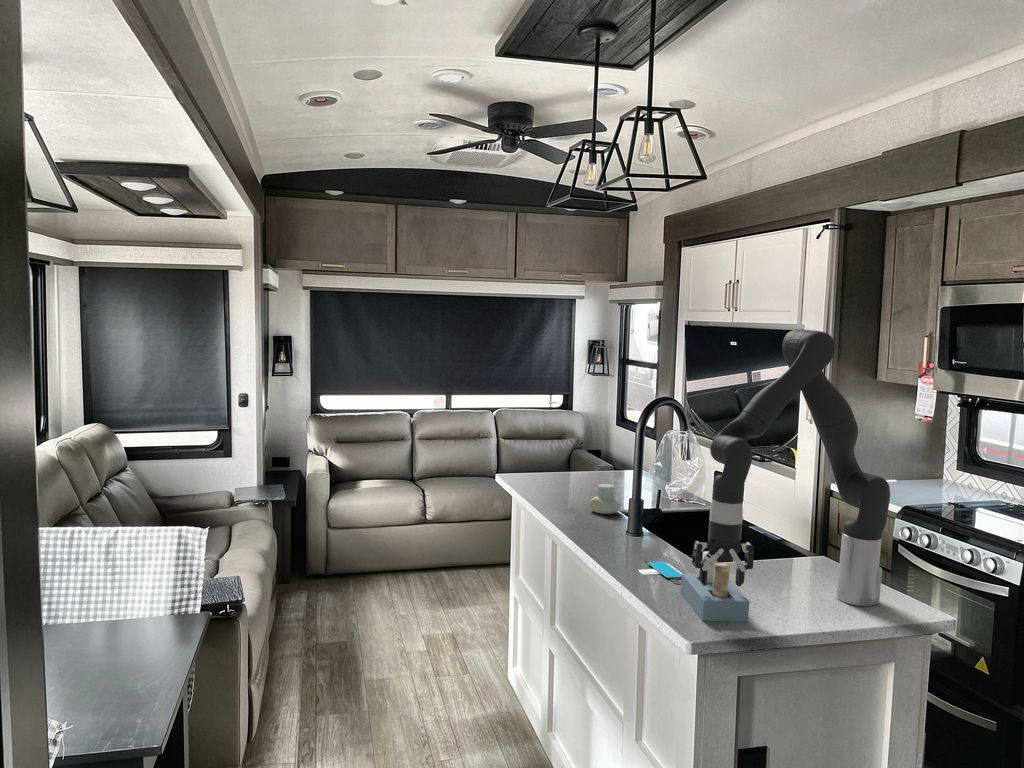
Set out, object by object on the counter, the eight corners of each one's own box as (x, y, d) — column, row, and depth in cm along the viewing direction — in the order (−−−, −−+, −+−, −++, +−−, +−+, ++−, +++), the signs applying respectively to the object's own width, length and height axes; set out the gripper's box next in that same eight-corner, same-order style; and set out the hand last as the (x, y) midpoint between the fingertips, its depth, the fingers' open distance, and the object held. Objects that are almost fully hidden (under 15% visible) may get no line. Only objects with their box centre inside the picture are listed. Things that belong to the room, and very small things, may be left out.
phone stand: (624, 562, 219) (624, 557, 219) (661, 560, 222) (662, 555, 222) (655, 587, 200) (656, 581, 200) (696, 585, 203) (696, 579, 203)
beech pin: (723, 607, 184) (726, 563, 183) (728, 612, 181) (731, 568, 180) (709, 606, 184) (712, 562, 183) (713, 612, 181) (717, 567, 179)
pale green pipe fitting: (623, 515, 270) (625, 487, 269) (607, 517, 265) (608, 489, 264) (602, 507, 279) (604, 481, 278) (585, 510, 274) (587, 483, 273)
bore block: (722, 593, 196) (725, 548, 195) (747, 621, 178) (751, 572, 177) (680, 592, 196) (683, 547, 194) (702, 621, 178) (705, 571, 177)
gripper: (749, 515, 185) (744, 580, 186) (691, 513, 184) (687, 578, 185) (761, 524, 177) (755, 591, 179) (701, 522, 176) (696, 590, 178)
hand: (720, 584), depth 182 cm, fingers open, 8 cm apart
